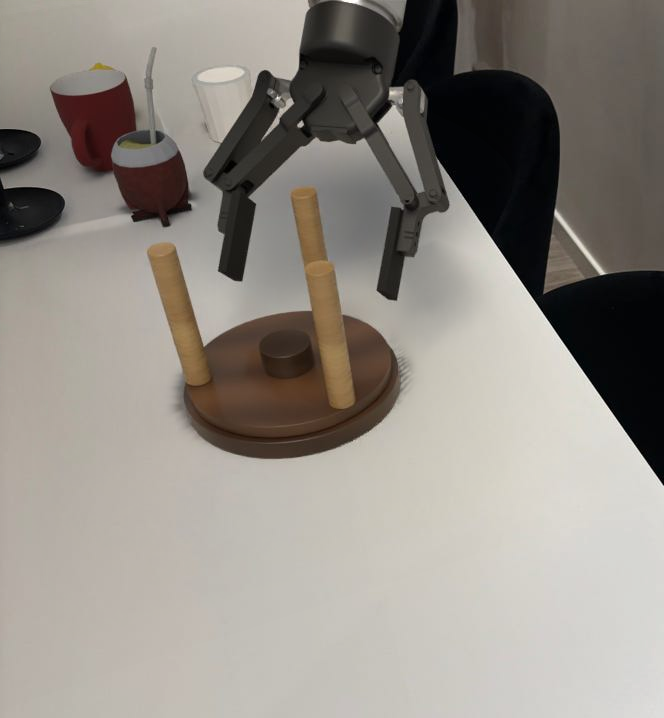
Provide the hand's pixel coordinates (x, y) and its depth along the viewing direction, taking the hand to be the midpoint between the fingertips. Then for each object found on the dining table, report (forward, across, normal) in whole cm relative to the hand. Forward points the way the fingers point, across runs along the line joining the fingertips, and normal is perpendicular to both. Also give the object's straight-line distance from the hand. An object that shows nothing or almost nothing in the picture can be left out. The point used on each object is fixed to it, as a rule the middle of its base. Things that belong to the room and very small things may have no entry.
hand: (306, 286), depth 76 cm
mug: (-15, +38, -25) cm, 48 cm away
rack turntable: (+7, 0, 0) cm, 7 cm away
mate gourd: (-10, +28, -20) cm, 36 cm away
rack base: (+8, 0, -1) cm, 8 cm away
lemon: (-24, +46, -34) cm, 62 cm away
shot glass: (-25, +30, -35) cm, 53 cm away
